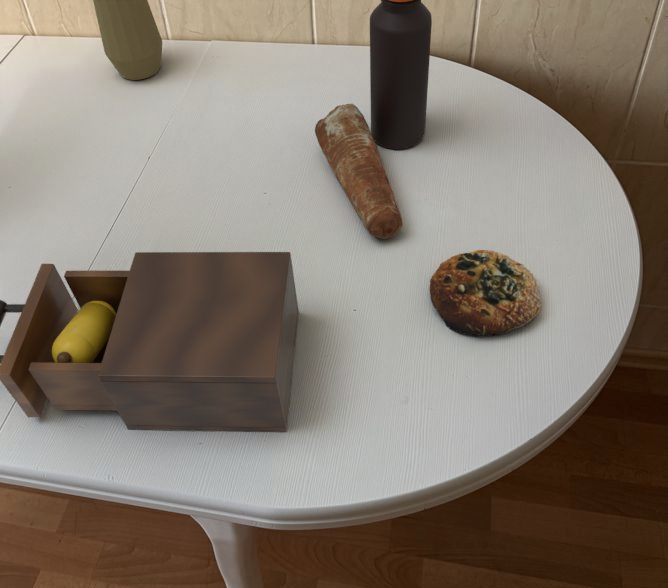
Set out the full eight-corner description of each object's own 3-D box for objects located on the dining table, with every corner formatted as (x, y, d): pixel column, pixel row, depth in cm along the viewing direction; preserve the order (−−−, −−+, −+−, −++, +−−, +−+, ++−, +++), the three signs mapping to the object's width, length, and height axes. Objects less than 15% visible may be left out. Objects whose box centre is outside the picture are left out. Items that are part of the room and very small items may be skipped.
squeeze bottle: (176, 56, 102) (143, -79, 88) (156, 88, 97) (117, -50, 83) (125, 52, 103) (84, -82, 89) (102, 83, 99) (55, -53, 84)
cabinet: (127, 429, 64) (97, 375, 57) (158, 311, 72) (135, 251, 66) (286, 432, 63) (275, 377, 56) (298, 311, 71) (290, 251, 65)
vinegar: (421, 153, 86) (431, -14, 70) (366, 148, 87) (363, -16, 71) (427, 119, 90) (438, -45, 74) (375, 115, 91) (374, -47, 75)
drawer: (-25, 416, 65) (-62, 374, 59) (19, 309, 72) (-10, 263, 67) (172, 419, 63) (153, 376, 58) (196, 310, 71) (181, 263, 66)
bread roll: (418, 328, 69) (424, 290, 65) (437, 260, 76) (443, 222, 73) (532, 353, 67) (545, 314, 63) (540, 280, 74) (552, 242, 71)
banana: (89, 327, 70) (81, 293, 68) (126, 327, 69) (119, 294, 68) (46, 384, 61) (36, 347, 59) (88, 385, 61) (79, 348, 59)
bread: (363, 137, 88) (363, 97, 84) (409, 240, 77) (411, 200, 72) (314, 146, 87) (311, 107, 83) (353, 251, 76) (352, 213, 72)
